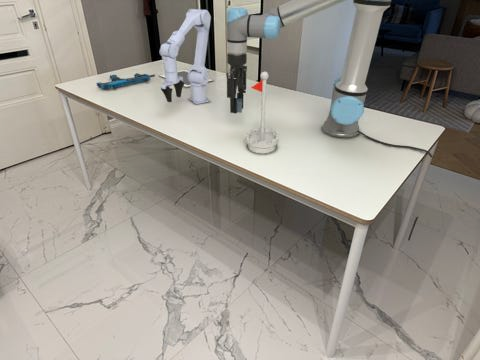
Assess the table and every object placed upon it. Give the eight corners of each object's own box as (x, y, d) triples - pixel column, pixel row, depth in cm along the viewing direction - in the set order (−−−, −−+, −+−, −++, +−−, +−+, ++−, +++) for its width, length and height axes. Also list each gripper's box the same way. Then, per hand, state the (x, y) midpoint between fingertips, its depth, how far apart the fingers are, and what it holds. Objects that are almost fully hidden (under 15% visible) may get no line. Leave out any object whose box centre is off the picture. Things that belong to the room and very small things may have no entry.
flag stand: (269, 137, 144) (273, 65, 127) (283, 151, 134) (289, 74, 117) (240, 142, 140) (240, 68, 123) (253, 157, 130) (255, 78, 113)
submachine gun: (140, 68, 226) (159, 74, 209) (142, 73, 228) (160, 80, 211) (89, 77, 207) (104, 85, 190) (90, 84, 209) (106, 92, 192)
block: (242, 109, 144) (242, 98, 142) (241, 112, 141) (241, 101, 139) (232, 109, 145) (232, 98, 142) (231, 112, 141) (231, 101, 139)
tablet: (159, 75, 221) (159, 75, 220) (185, 70, 232) (185, 69, 231) (186, 87, 200) (186, 86, 200) (213, 80, 211) (213, 80, 211)
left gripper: (173, 66, 164) (176, 93, 172) (154, 73, 153) (158, 102, 161) (185, 68, 162) (187, 95, 169) (166, 75, 151) (170, 105, 158)
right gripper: (239, 47, 138) (238, 102, 151) (216, 57, 125) (218, 116, 137) (255, 49, 136) (254, 104, 148) (234, 59, 122) (234, 119, 134)
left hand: (174, 99), depth 165 cm, fingers open, 7 cm apart
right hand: (236, 110), depth 143 cm, fingers closed on block, 5 cm apart
